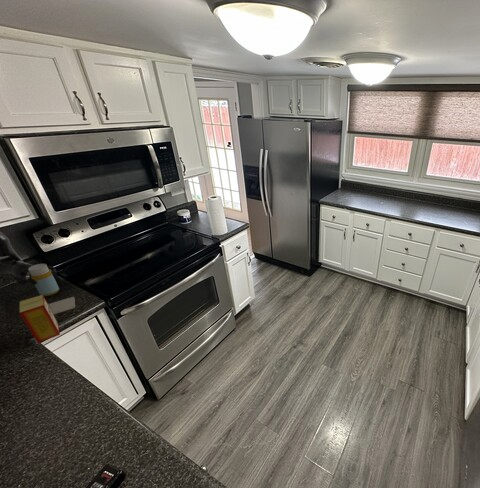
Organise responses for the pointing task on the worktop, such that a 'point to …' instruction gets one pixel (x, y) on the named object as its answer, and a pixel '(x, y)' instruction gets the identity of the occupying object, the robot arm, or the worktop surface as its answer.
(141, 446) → the worktop surface
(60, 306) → the mat
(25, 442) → the worktop surface
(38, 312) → the baking soda box
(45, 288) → the bottle
